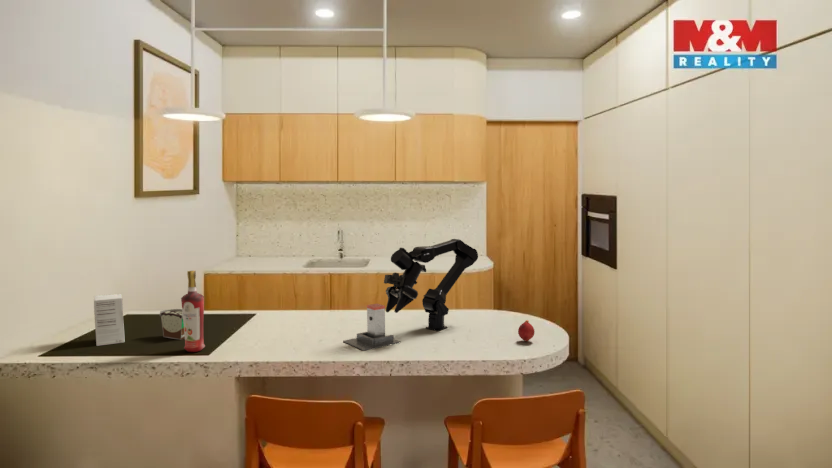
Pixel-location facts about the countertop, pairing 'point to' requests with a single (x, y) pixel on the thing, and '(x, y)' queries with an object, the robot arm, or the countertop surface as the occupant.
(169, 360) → the countertop surface
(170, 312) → the food container
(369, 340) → the plate
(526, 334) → the onion
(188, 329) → the liquor
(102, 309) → the supplement box
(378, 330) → the block
